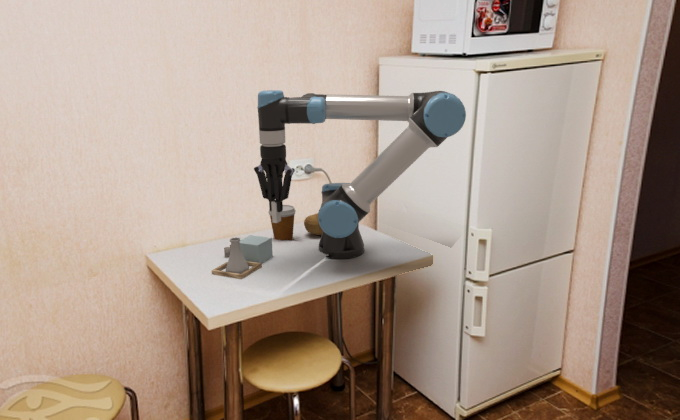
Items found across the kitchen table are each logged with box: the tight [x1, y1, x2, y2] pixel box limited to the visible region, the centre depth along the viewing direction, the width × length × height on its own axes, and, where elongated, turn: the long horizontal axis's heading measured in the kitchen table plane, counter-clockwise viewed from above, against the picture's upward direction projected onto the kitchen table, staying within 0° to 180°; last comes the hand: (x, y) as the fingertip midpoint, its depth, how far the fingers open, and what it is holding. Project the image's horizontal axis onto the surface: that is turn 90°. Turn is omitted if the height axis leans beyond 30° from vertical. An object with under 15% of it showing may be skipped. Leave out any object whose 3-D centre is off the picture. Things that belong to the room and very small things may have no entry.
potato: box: [303, 212, 323, 236], centre depth 206 cm, size 10×14×8 cm
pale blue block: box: [240, 234, 274, 264], centre depth 178 cm, size 8×8×6 cm
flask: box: [225, 237, 250, 274], centre depth 168 cm, size 7×7×10 cm
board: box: [211, 244, 263, 280], centre depth 175 cm, size 18×20×4 cm
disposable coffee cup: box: [267, 204, 296, 242], centre depth 199 cm, size 10×10×12 cm
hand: (276, 221), depth 172 cm, fingers closed
